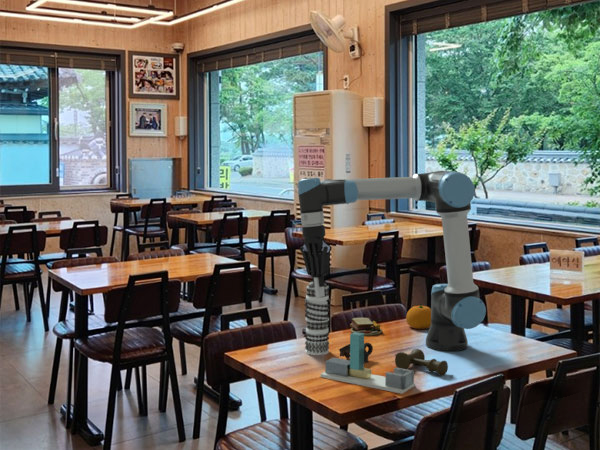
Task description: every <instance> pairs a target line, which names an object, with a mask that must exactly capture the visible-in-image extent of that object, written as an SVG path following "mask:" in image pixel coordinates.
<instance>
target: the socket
mask: <svg viewBox="0 0 600 450" xmlns="http://www.w3.org/2000/svg"><path fill="white" fill-rule="evenodd" d="M385 377H386V380H385V386H388V387H393V388H398V389H403V390H404V389H405V388H407V387H409V386H410V385H412V384H414V383H415V371H414V370H413V369H412V370H411V369H402V368H398V367H397V366H396V367H395V368H393V372H390V371H387V372H385Z"/></svg>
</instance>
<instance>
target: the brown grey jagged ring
mask: <svg viewBox="0 0 600 450" xmlns="http://www.w3.org/2000/svg"><path fill="white" fill-rule="evenodd" d="M367 349H368V350H367ZM338 350H339V357H345V358H346V360H349V359H350V343H349V344H346V345H344V346H342V347H340V348H339V349H338ZM373 350H374V346H373V345H372V344H371V343H370V342H364V365H365V364H368V363H369V356H371V354H372V353H373Z"/></svg>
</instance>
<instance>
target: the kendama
mask: <svg viewBox="0 0 600 450" xmlns="http://www.w3.org/2000/svg"><path fill="white" fill-rule="evenodd" d="M394 363H395V366H396V367H397V368H402V369H407V370H409V368H410V367H411V366H410V365H412V364H413V365H416V366H422V367H424V368H426V369H427V370H428V372H430V373H437V375H438V376H440V377H443V376H445V375H446V374H447V373H448V369H449V365H448V362H447V360H441V361H438V360H437V359H436V358H432V359H425V353H424V351H423V350H422V349H419V348H414V349H412V351H411V352H410V353H409V354H408V353H405V352H404V351H400V352H397V353H395V355H394Z"/></svg>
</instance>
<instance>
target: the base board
mask: <svg viewBox="0 0 600 450" xmlns="http://www.w3.org/2000/svg"><path fill="white" fill-rule="evenodd" d="M320 378H325V379H328V380H332V381H339V382H343V383H347V384H353V385H356V386H357V385H358V386H362V387H368V388H372V389H376V390H382V391H387V392H391V393H397V394H401V395H403V394H404V393H406V392H408V391H409V390H411V389H413V388H414V387H416V382H414V384H412V385H410V386H409V387H407V388H405V389H404V390H403V389H398V388H393V387H388V386H385V380H386V376H383V375H378V374H372V373H371V377H370V378H368V379H365V378H360V377H355V376H350V375H348V377H344V376H339V375H334V374H329V373H325V371H324V372H322V373H320Z"/></svg>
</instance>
